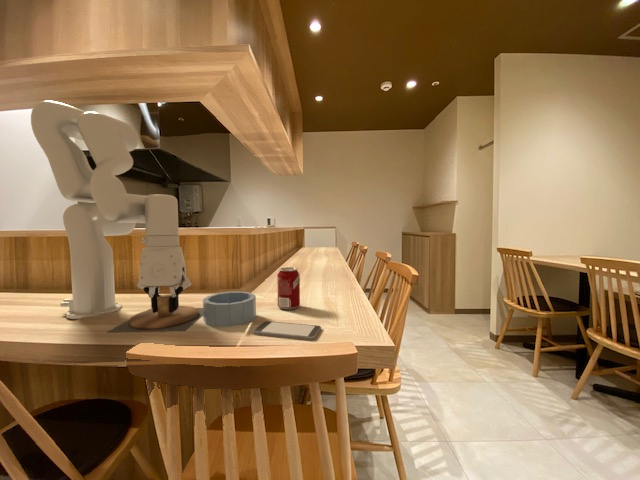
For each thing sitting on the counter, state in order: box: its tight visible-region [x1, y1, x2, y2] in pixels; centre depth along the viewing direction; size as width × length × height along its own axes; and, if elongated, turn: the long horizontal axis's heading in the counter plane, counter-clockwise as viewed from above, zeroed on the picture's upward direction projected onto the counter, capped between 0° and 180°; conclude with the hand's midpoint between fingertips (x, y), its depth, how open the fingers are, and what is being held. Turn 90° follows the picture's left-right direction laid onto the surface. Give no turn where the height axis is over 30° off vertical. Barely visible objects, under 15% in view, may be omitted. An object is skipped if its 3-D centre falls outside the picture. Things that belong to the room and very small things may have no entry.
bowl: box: [202, 291, 257, 328], centre depth 74 cm, size 13×13×6 cm
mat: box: [105, 307, 203, 334], centre depth 74 cm, size 18×18×1 cm
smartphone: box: [252, 320, 322, 342], centre depth 66 cm, size 7×1×15 cm
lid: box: [128, 293, 198, 330], centre depth 74 cm, size 16×16×6 cm
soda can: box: [276, 266, 301, 311], centre depth 85 cm, size 7×7×12 cm
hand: (165, 310), depth 74 cm, fingers closed on lid, 3 cm apart
